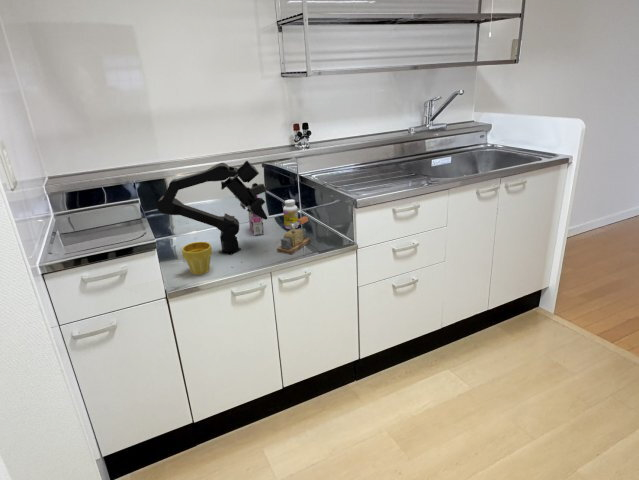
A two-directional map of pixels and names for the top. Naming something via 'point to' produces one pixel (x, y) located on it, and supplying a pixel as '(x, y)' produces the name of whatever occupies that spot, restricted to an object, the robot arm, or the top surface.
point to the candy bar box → (255, 224)
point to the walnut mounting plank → (294, 247)
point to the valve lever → (299, 222)
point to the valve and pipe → (293, 238)
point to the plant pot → (198, 256)
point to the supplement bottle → (290, 213)
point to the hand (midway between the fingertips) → (265, 218)
